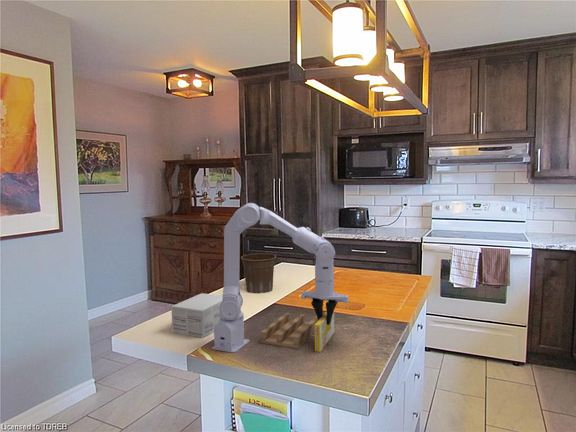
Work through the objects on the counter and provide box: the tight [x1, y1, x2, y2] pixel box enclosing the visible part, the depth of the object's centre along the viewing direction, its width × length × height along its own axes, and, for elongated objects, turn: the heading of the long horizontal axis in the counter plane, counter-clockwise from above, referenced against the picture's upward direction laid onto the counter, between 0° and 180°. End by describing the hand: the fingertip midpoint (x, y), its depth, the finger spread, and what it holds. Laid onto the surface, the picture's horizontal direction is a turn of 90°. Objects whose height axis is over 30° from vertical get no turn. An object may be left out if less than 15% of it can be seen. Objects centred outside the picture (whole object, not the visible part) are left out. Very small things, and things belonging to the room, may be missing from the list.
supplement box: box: [170, 292, 223, 338], centre depth 140 cm, size 17×13×9 cm
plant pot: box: [240, 253, 277, 294], centre depth 185 cm, size 16×16×16 cm
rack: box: [260, 312, 318, 349], centre depth 131 cm, size 20×12×4 cm, turn 157°
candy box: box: [313, 310, 336, 353], centre depth 124 cm, size 16×2×8 cm, turn 159°
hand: (324, 323), depth 124 cm, fingers closed
